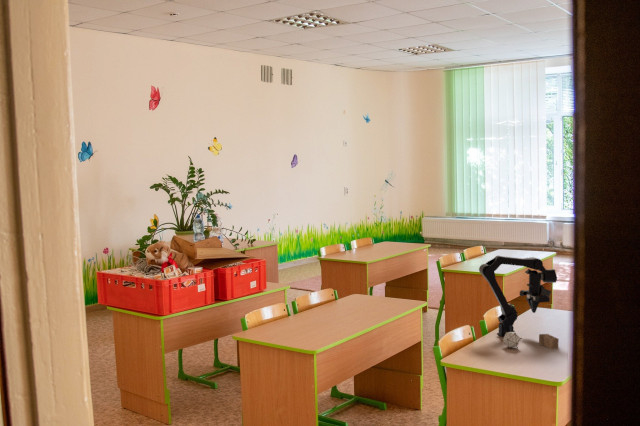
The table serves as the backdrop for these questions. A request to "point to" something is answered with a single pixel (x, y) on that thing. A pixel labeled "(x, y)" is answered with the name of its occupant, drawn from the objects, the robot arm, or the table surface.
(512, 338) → the game die
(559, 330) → the table surface
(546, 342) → the brown rectangular block
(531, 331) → the table surface
